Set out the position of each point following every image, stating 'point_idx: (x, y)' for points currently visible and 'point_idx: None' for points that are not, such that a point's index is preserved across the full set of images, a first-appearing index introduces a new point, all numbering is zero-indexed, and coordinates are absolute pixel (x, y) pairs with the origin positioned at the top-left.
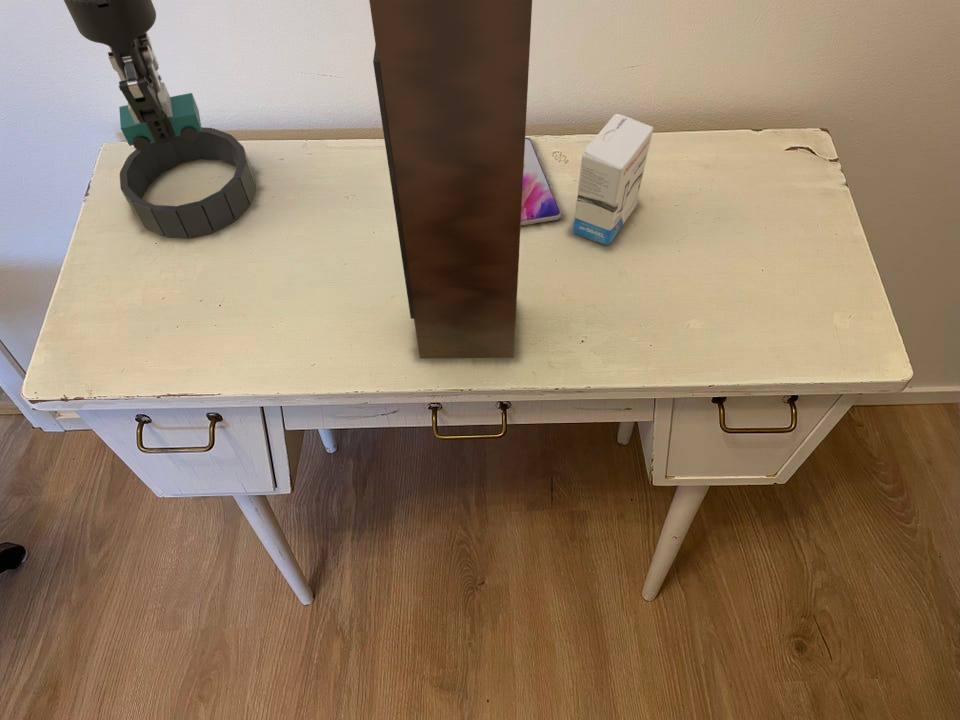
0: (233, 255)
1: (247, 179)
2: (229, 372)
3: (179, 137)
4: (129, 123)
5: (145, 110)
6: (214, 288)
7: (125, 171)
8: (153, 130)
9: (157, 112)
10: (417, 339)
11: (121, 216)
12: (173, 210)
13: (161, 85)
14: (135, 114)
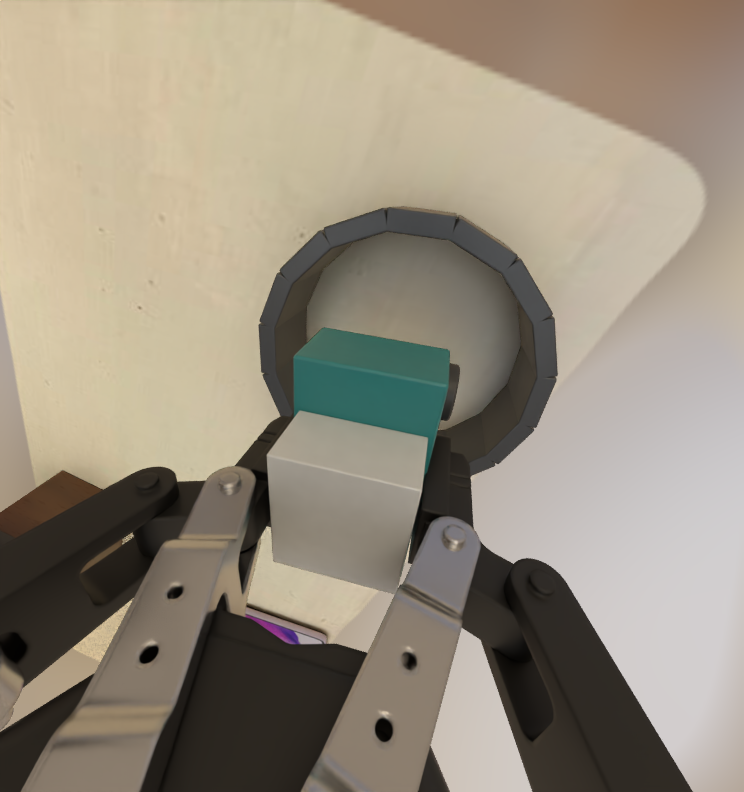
0: (236, 357)
1: None
2: (26, 285)
3: (525, 393)
4: (311, 392)
5: (135, 530)
6: (173, 309)
7: (452, 236)
8: (254, 445)
9: (116, 554)
10: (27, 494)
11: (418, 168)
12: (263, 318)
13: (375, 584)
14: (72, 507)
